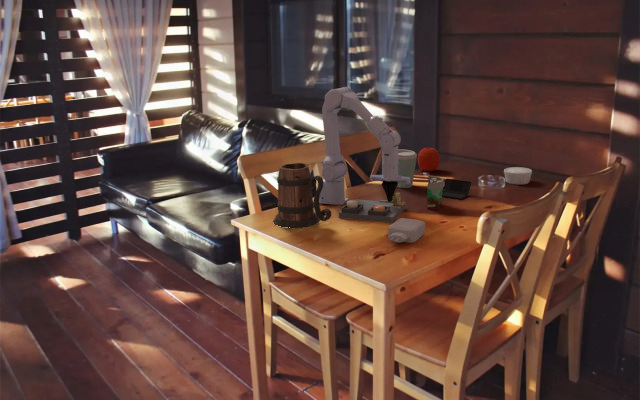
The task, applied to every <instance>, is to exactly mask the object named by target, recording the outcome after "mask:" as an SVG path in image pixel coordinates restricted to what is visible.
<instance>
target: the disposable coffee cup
mask: <svg viewBox="0 0 640 400" xmlns="http://www.w3.org/2000/svg"><path fill="white" fill-rule="evenodd" d="M417 159H418V153H417V152H415V151H414V150H410V149H399V148H398V176H404V177H410V183H409V184H406V183H398V185H397V187H398V188H400V189H409V188H412V186H413V183H414V177H415V176H414V175H415V170H416V164H417ZM397 187H396V188H397Z"/></svg>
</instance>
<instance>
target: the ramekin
mask: <svg viewBox="0 0 640 400" xmlns="http://www.w3.org/2000/svg"><path fill="white" fill-rule="evenodd" d="M503 174H504V179H506V180H505V182H506V183H507V184H510V185H517V186H519V185H521V186H522V185H527V184H529V183H530V181H531V177H532V174H533V170H532V169H531V168H528V167H521V166H514V167H513V166H512V167H506V168H504V170H503Z"/></svg>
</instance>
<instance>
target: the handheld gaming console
mask: <svg viewBox="0 0 640 400" xmlns="http://www.w3.org/2000/svg"><path fill="white" fill-rule="evenodd" d="M444 183H445V186H444V187H443V191H442V198H445V199H451V200H458V201H463V200H464V199H466V198H468V196H469V193H470V190H471V186H472V181H468V180H461V179H460V180H459V179H453V178H446V179H445V180H444Z"/></svg>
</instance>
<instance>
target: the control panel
mask: <svg viewBox="0 0 640 400" xmlns="http://www.w3.org/2000/svg"><path fill="white" fill-rule="evenodd" d="M353 200H356V201H358V208H355V209H349V208H347V203H345V205H343V206H342V207H341V208H340V210H339V212H338V219H349V220H357V221H358V220H360V221H371V222H381V223H392V224H393V223H395V222H396V221H397V220H398V219H399V217H400V215H401V214H402V213H403V212H404V211H405V210H406V203H405V204H404V205H403V206H402V207H397V206H393V200H392V202H388V201H387V199H386V200H385V199H378V200H368V199H366V200H365V199H355V198H354V199H353ZM377 205H381V206H385V211H384V212H383V211H374V206H377Z"/></svg>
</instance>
